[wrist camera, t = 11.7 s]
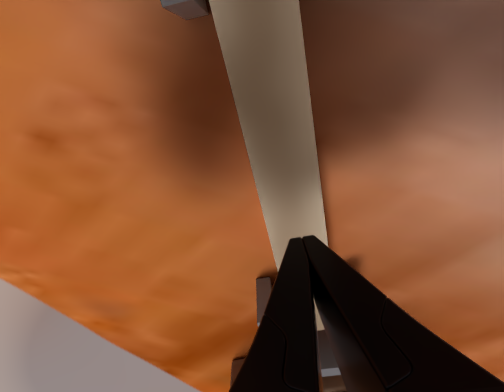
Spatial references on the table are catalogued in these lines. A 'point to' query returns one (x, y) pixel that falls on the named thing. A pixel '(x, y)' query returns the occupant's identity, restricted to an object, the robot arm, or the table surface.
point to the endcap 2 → (325, 350)
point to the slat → (274, 114)
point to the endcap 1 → (186, 8)
